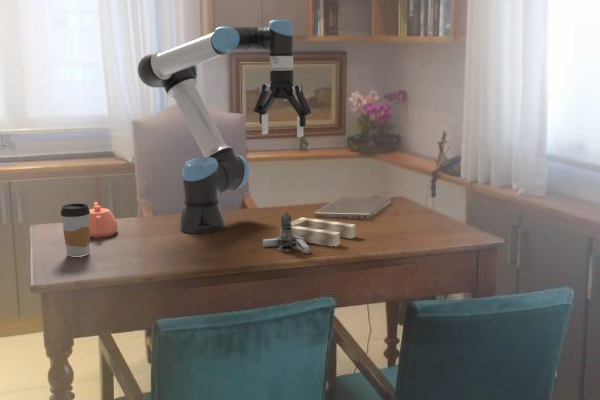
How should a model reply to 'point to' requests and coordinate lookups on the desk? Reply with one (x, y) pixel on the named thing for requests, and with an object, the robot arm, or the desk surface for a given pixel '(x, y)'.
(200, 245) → the desk surface
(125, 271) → the desk surface
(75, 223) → the coffee cup
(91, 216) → the teapot
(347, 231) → the bracket
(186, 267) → the desk surface
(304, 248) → the v block
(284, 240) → the grey tall rounded piece
